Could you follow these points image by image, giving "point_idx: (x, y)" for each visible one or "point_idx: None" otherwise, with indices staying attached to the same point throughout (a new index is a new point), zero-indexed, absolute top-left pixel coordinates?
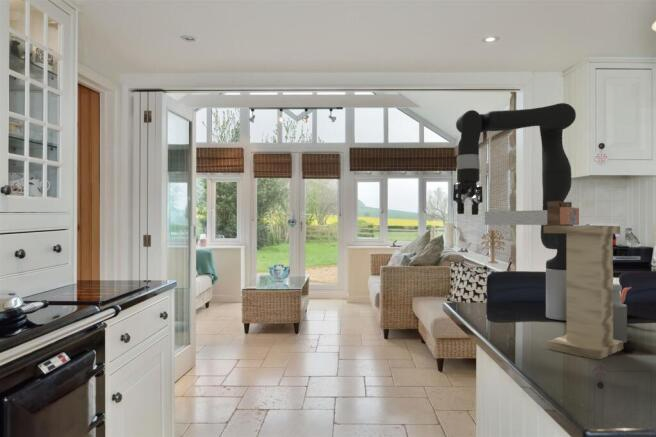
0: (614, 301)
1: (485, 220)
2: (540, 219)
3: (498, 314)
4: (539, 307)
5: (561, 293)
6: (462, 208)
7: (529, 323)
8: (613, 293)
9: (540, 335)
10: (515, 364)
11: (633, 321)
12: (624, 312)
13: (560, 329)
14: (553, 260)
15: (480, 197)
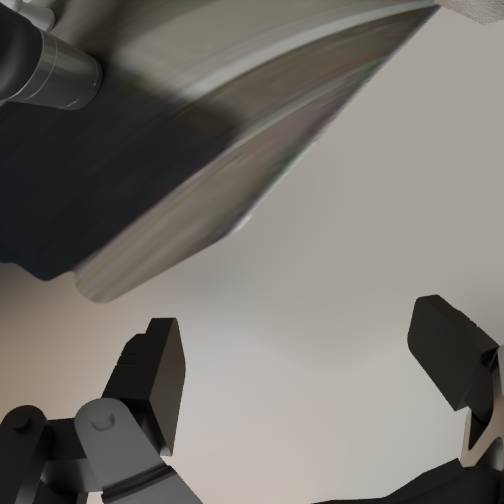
0: (33, 6)
1: (496, 17)
2: None
3: (151, 173)
4: (13, 187)
5: (73, 49)
6: (461, 319)
7: (184, 74)
8: (23, 4)
9: (275, 13)
10: None
11: None
12: None
13: (188, 17)
14: (28, 42)
15: (26, 477)
